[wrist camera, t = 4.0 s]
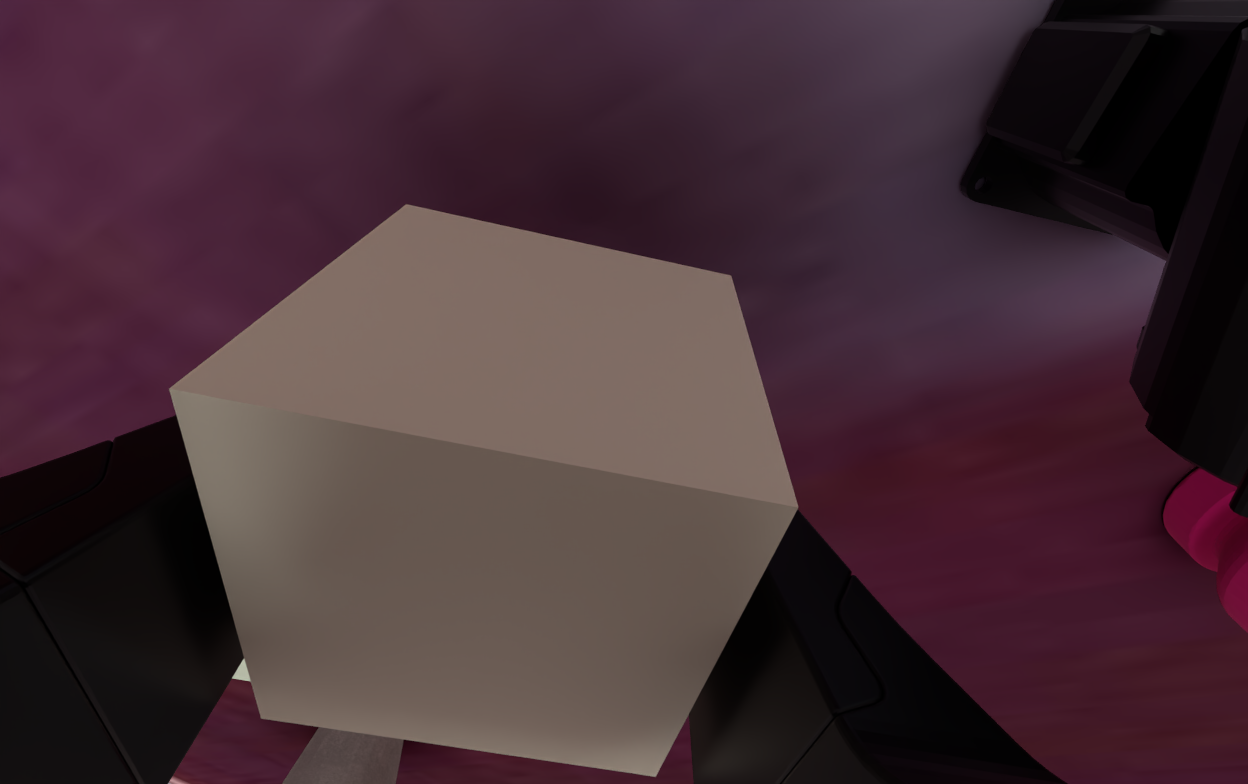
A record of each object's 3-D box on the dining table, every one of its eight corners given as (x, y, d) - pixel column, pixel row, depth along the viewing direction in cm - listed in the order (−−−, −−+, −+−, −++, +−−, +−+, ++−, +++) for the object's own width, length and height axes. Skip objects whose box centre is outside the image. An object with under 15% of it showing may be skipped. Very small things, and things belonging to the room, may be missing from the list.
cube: (731, 275, 9) (798, 508, 5) (655, 503, 12) (655, 777, 7) (405, 204, 9) (170, 389, 4) (406, 457, 11) (260, 718, 7)
